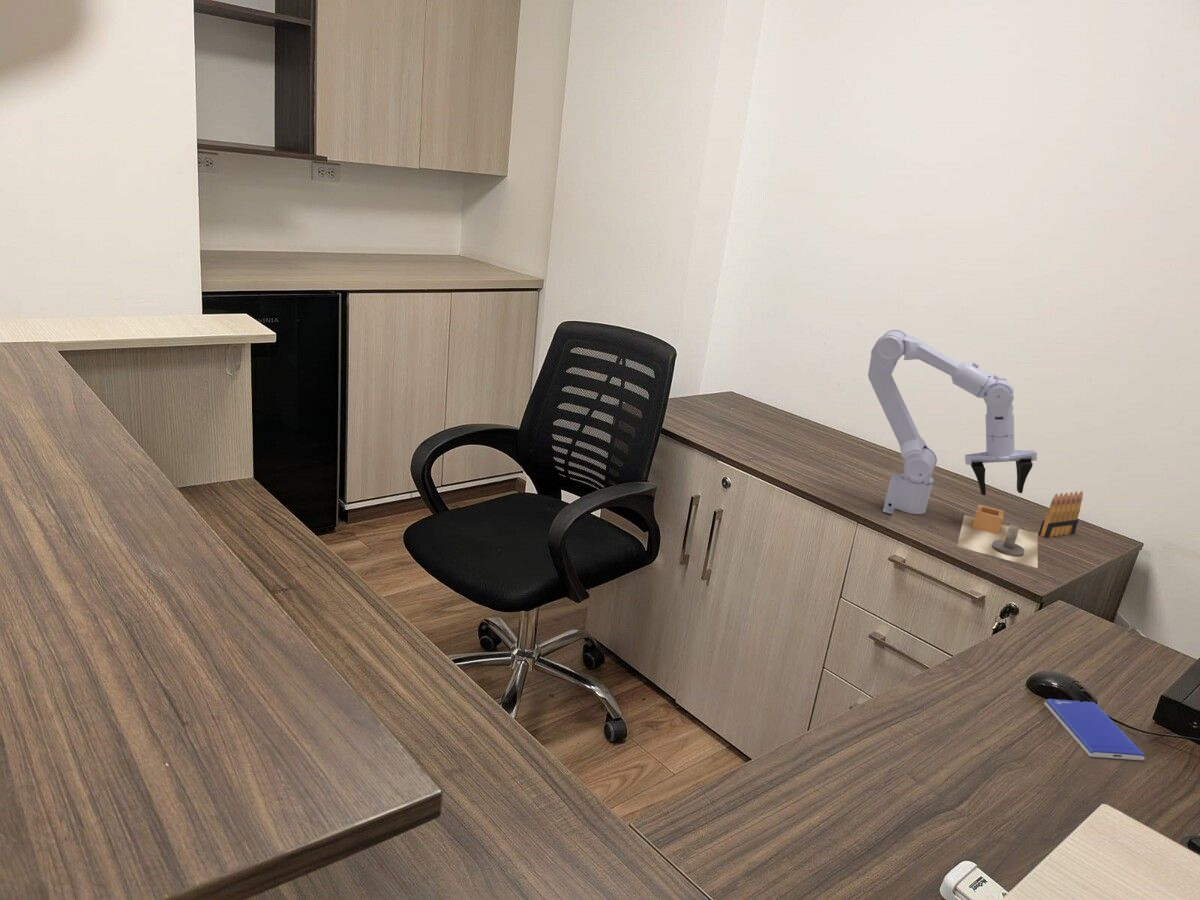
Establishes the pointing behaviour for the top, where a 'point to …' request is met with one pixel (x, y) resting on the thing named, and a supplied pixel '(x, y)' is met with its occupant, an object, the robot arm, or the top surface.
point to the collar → (988, 519)
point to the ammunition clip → (1062, 515)
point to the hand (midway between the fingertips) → (1001, 492)
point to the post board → (1001, 542)
